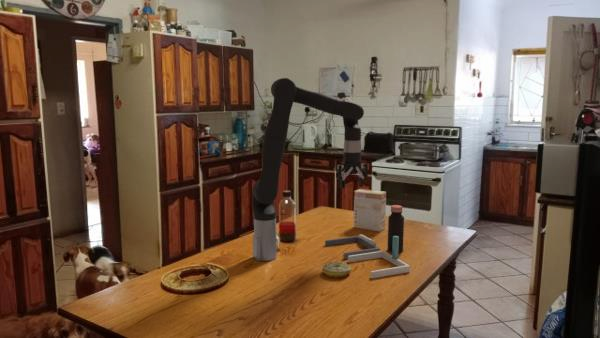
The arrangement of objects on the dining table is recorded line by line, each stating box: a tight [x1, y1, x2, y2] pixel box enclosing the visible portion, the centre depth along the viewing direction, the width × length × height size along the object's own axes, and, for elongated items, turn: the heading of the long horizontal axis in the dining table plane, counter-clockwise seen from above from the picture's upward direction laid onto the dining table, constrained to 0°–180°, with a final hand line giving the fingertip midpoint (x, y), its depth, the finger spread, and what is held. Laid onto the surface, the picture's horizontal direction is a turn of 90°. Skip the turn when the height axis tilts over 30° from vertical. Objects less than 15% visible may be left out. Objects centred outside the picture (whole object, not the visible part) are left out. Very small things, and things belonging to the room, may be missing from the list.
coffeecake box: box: [353, 188, 387, 233], centre depth 236 cm, size 15×7×20 cm, turn 58°
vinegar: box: [387, 204, 405, 253], centre depth 202 cm, size 7×7×20 cm
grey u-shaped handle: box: [324, 233, 381, 260], centre depth 204 cm, size 18×19×4 cm
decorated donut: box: [322, 261, 352, 279], centre depth 177 cm, size 10×11×4 cm
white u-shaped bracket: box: [347, 236, 411, 279], centre depth 183 cm, size 18×19×12 cm
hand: (351, 187), depth 200 cm, fingers open, 8 cm apart
